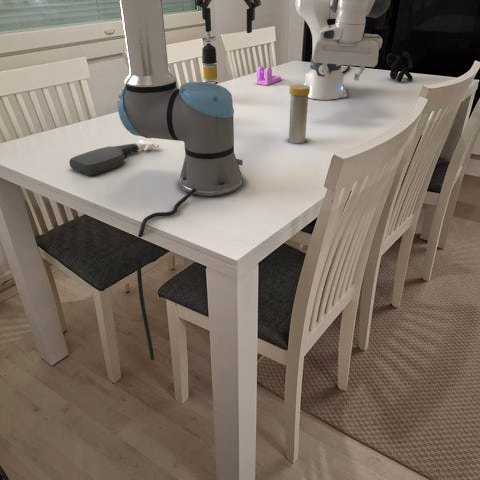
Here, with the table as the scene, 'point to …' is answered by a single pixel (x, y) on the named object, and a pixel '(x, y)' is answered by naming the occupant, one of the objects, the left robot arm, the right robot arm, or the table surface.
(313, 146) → the table surface
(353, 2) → the right robot arm
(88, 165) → the spray bottle
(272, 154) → the table surface
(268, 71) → the bracket
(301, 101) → the jar
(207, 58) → the black and yellow bottle
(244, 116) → the table surface
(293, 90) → the lid
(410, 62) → the squiggle
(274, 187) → the table surface
